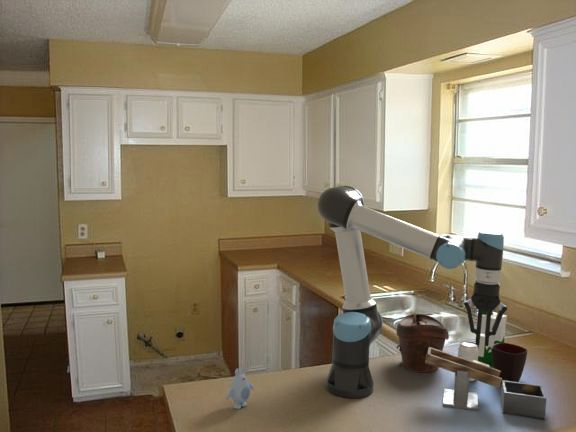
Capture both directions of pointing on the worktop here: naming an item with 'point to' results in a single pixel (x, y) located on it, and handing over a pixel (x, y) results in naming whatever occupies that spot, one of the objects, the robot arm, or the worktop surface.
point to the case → (420, 340)
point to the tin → (523, 399)
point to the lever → (464, 366)
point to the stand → (461, 393)
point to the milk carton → (492, 336)
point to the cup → (509, 361)
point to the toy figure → (239, 389)
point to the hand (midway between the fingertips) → (480, 355)
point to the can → (468, 352)
